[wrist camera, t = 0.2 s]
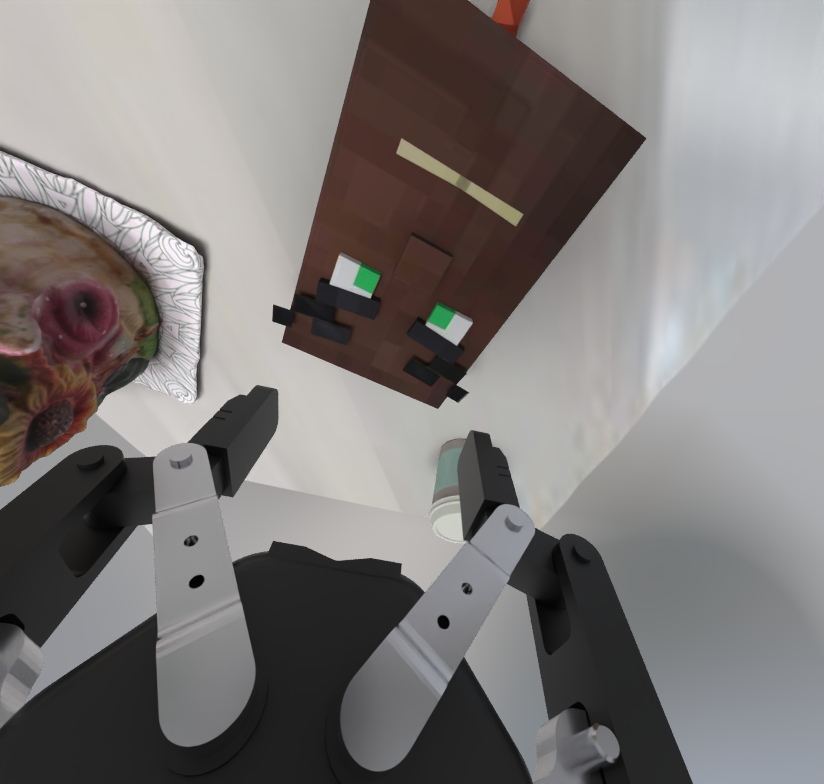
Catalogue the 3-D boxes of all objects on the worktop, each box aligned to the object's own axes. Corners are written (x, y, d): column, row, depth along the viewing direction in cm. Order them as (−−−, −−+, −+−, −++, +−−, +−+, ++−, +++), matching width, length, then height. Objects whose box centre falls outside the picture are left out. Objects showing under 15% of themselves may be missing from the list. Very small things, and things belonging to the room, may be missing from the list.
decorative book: (709, 101, 17) (436, 431, 35) (643, 106, 23) (438, 388, 41) (378, -183, 13) (261, 360, 31) (399, -89, 19) (290, 322, 37)
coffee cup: (492, 466, 50) (502, 544, 41) (437, 471, 52) (435, 547, 42) (486, 428, 45) (496, 508, 35) (425, 435, 46) (420, 513, 37)
